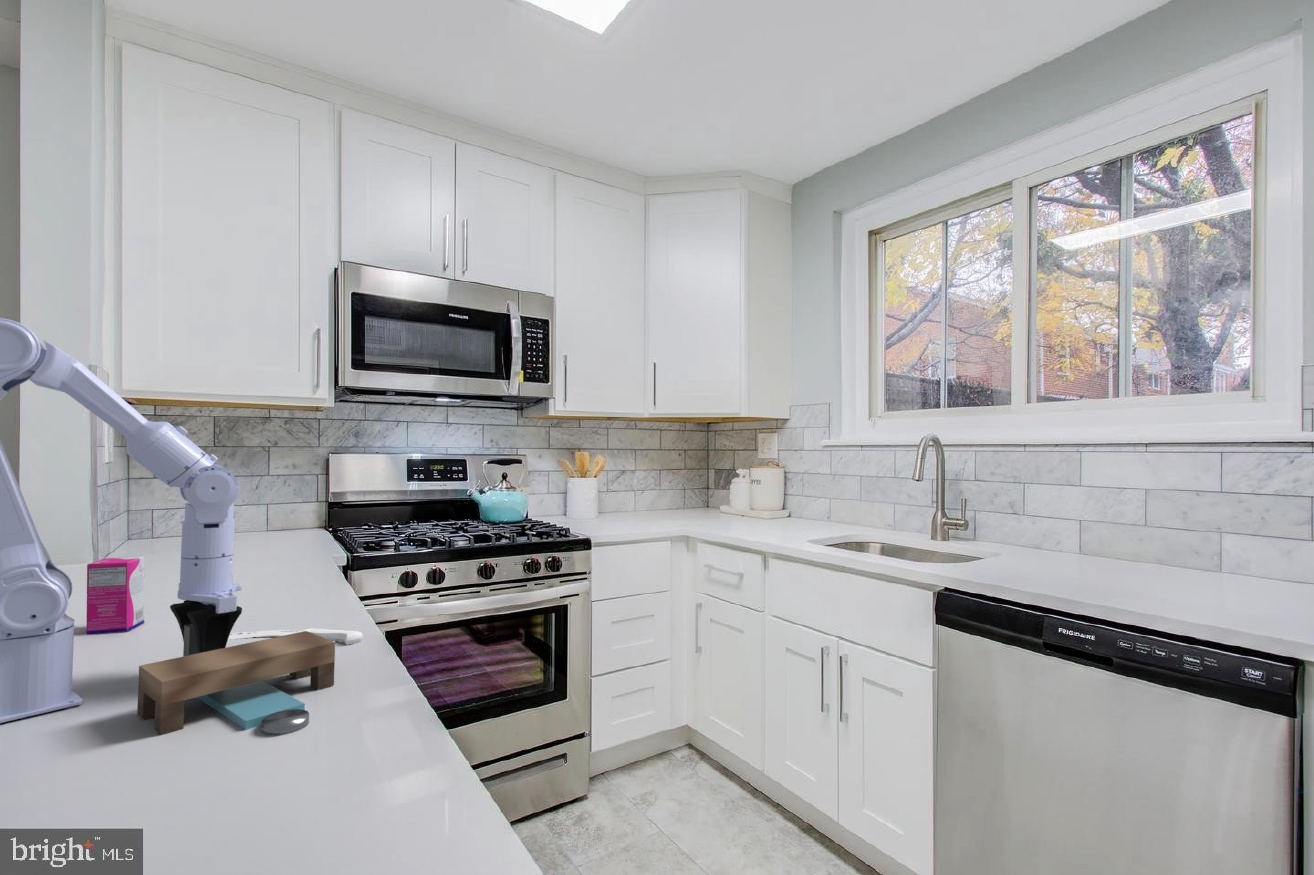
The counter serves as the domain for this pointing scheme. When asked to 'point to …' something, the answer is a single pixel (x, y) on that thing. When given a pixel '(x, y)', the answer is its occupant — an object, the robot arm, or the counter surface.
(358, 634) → the knife
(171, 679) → the low wooden stool
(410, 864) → the counter surface
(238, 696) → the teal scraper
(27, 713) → the robot arm
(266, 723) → the steel token
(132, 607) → the supplement box
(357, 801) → the counter surface
